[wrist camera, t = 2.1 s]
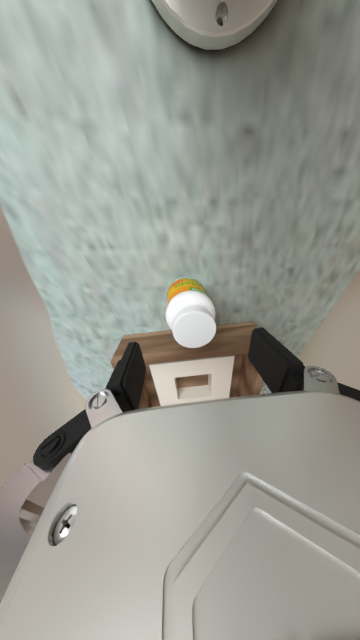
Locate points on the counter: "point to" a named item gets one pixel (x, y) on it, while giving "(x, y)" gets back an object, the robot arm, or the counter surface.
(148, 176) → the counter surface
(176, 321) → the supplement bottle
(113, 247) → the counter surface
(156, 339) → the open box
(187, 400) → the socket plate
